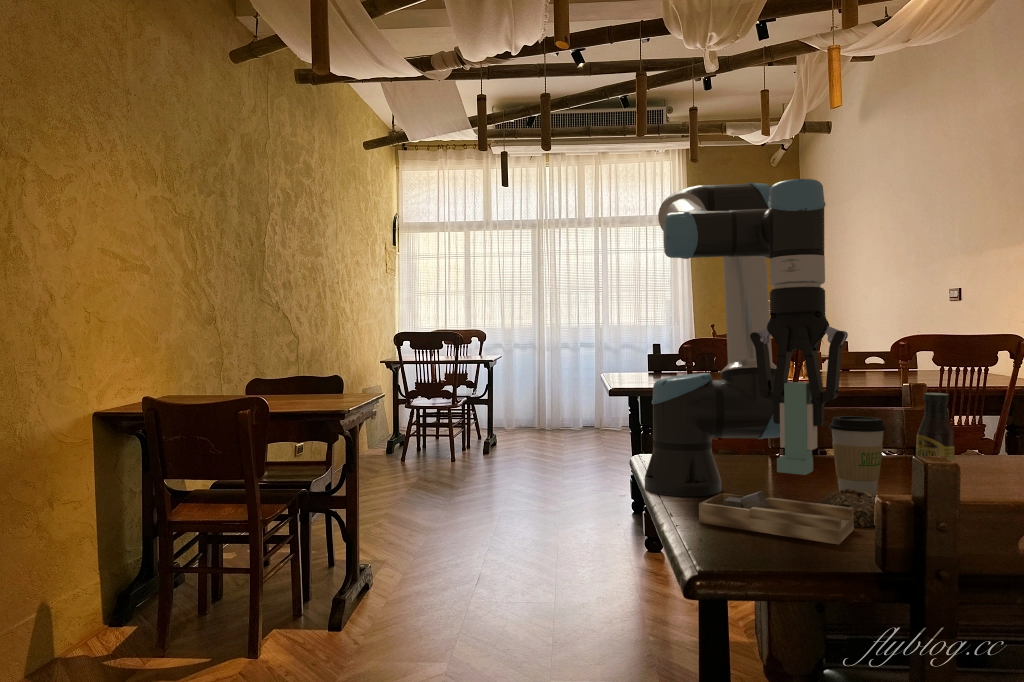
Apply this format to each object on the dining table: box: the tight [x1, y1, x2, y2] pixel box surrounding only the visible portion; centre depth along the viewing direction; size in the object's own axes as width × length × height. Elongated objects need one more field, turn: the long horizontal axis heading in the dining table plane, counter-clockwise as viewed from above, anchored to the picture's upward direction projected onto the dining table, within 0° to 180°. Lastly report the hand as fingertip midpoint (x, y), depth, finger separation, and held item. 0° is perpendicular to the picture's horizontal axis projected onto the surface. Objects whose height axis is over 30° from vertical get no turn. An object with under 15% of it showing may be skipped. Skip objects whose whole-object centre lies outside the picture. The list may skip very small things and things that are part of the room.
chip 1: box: [724, 497, 744, 508], centre depth 117 cm, size 3×3×3 cm
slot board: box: [698, 492, 855, 545], centre depth 114 cm, size 22×10×4 cm, turn 53°
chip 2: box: [740, 490, 770, 509], centre depth 115 cm, size 3×3×3 cm
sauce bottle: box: [915, 392, 956, 462], centre depth 133 cm, size 6×6×20 cm
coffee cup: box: [828, 415, 887, 497], centre depth 134 cm, size 10×10×15 cm
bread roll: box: [817, 489, 877, 528], centre depth 119 cm, size 13×12×5 cm
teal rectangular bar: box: [776, 381, 814, 476], centre depth 103 cm, size 4×4×13 cm
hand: (798, 447), depth 103 cm, fingers closed on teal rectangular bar, 3 cm apart
